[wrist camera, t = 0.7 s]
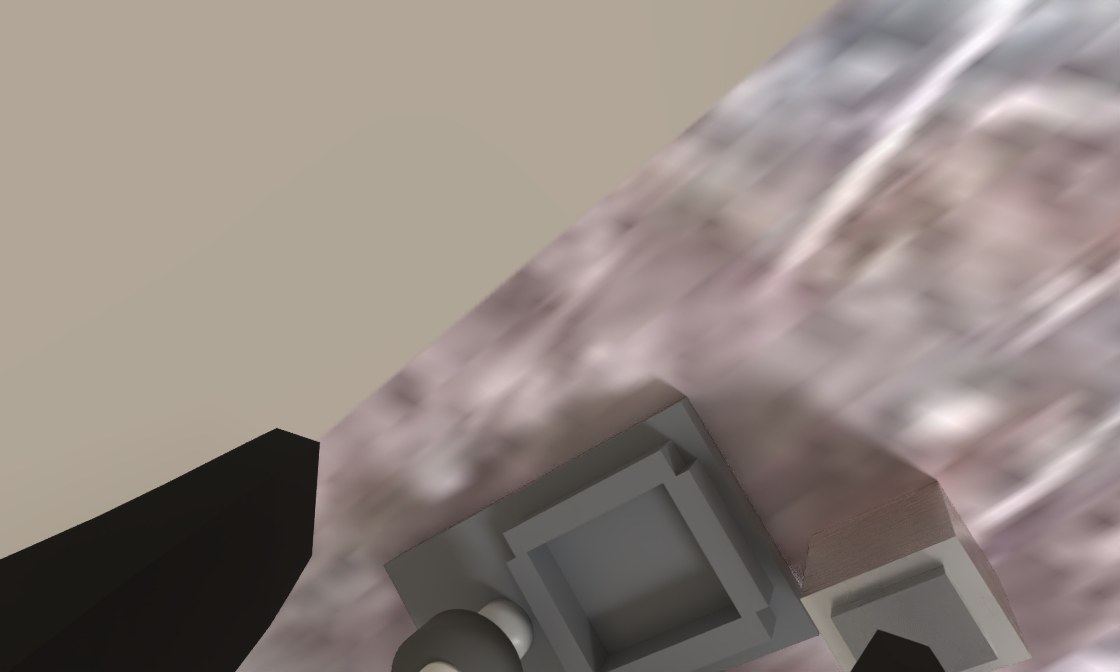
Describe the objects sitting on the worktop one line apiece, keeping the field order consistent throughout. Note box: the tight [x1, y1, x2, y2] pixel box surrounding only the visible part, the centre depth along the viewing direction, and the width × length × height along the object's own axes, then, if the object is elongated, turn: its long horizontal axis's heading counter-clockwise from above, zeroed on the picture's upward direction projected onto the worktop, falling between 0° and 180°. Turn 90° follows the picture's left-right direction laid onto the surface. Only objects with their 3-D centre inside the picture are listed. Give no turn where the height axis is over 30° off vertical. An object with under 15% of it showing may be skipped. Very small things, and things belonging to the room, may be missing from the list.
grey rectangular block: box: [800, 481, 1032, 672], centre depth 22 cm, size 4×4×6 cm
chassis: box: [384, 396, 819, 672], centre depth 28 cm, size 9×15×2 cm, turn 123°
